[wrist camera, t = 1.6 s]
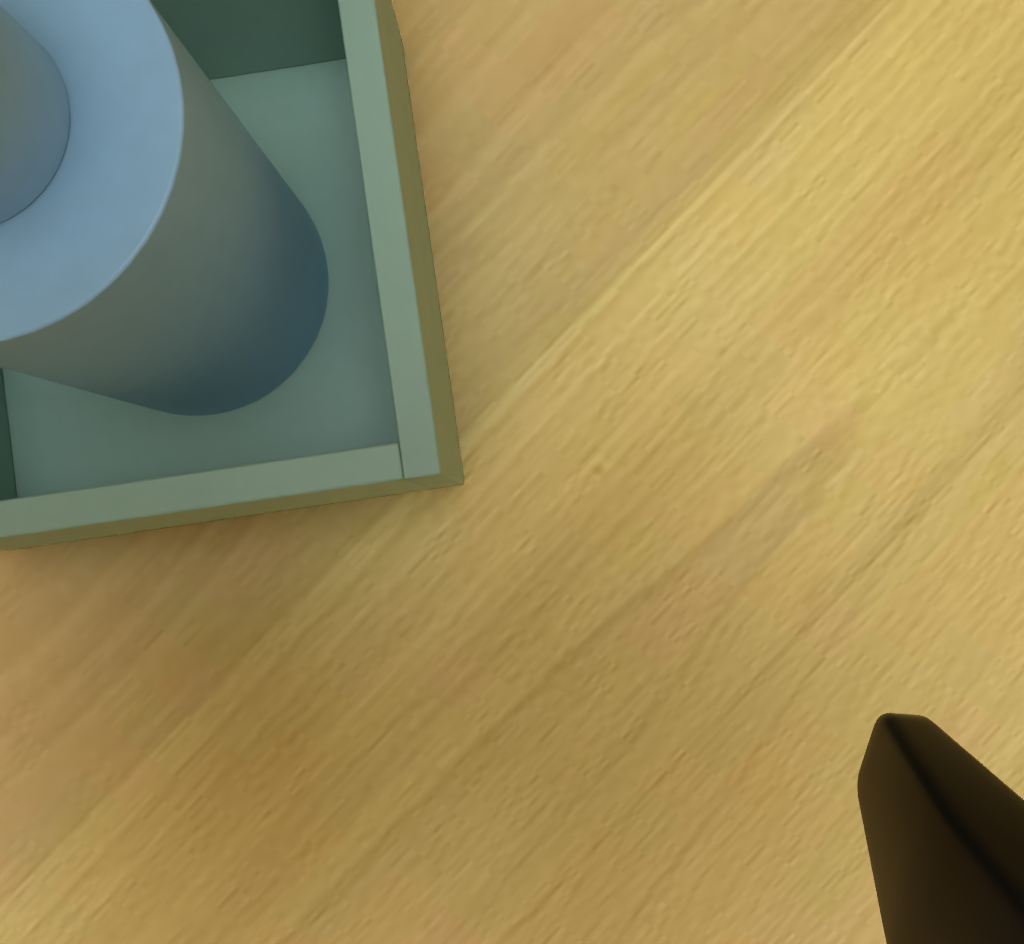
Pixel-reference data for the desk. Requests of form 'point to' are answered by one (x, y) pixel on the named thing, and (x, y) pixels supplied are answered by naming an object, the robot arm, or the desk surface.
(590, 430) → the desk surface
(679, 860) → the desk surface
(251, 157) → the bottle
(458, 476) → the cooler
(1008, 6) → the desk surface
